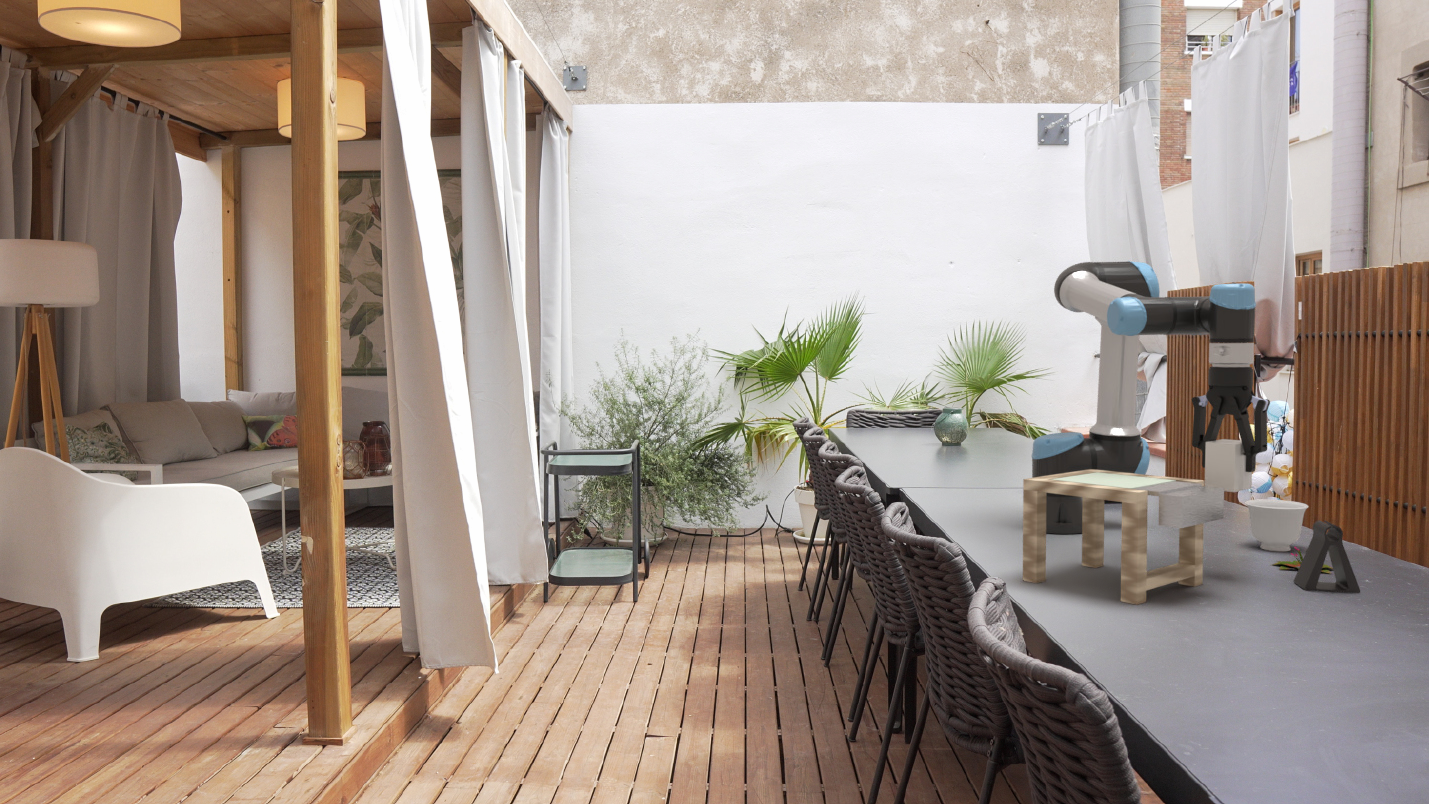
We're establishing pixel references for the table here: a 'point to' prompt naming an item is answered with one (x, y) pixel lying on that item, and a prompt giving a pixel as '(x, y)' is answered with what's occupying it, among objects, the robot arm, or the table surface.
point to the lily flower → (1298, 563)
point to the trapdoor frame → (1133, 534)
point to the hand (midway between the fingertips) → (1227, 486)
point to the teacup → (1276, 522)
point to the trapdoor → (1167, 497)
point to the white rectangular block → (1224, 464)
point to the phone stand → (1316, 557)
